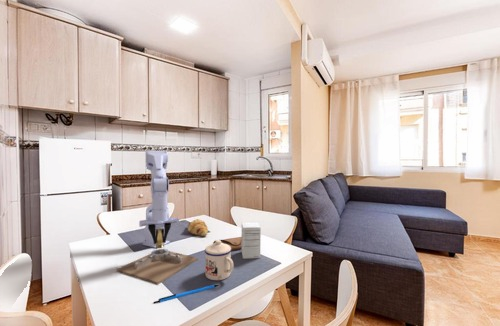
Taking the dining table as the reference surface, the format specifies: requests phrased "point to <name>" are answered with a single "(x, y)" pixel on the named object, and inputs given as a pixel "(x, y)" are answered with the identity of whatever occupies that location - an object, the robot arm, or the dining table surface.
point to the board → (157, 268)
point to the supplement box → (251, 240)
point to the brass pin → (159, 237)
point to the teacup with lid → (218, 261)
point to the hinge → (158, 257)
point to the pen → (184, 293)
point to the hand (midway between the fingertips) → (159, 242)
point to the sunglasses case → (233, 243)
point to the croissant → (198, 227)
